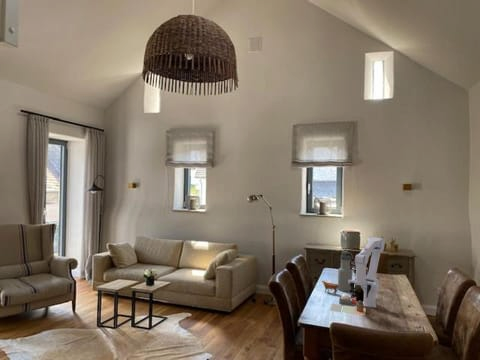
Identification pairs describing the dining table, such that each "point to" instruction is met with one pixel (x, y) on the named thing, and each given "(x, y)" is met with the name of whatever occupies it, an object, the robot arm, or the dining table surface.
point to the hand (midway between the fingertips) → (360, 296)
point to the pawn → (360, 306)
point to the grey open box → (348, 301)
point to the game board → (346, 309)
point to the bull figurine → (330, 286)
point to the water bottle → (345, 271)
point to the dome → (345, 296)
